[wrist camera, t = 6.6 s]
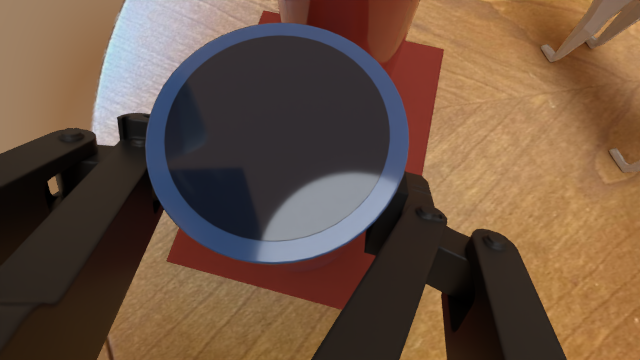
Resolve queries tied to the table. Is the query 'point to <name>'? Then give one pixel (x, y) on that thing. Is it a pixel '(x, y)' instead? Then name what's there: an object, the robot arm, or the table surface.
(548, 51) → the cat figurine
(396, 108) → the blue tumbler
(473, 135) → the table surface
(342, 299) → the red mat
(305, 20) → the red tumbler
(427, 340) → the table surface
